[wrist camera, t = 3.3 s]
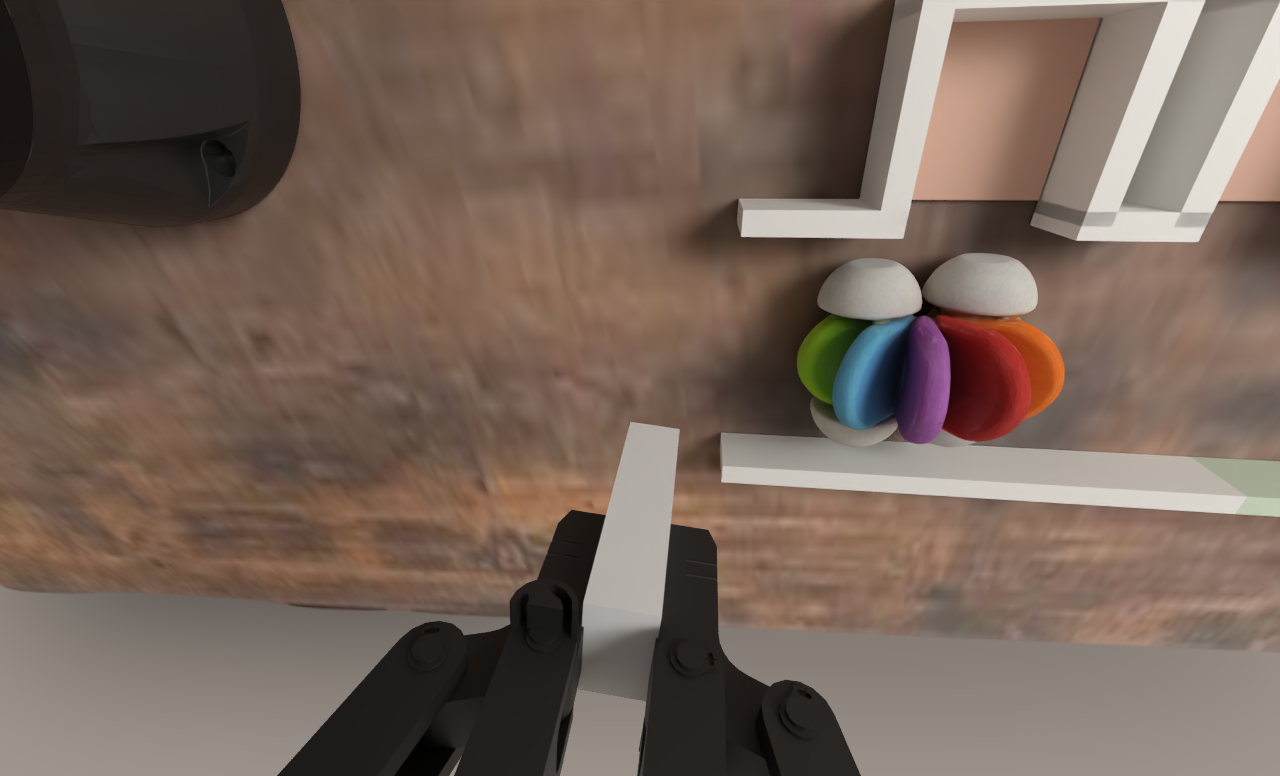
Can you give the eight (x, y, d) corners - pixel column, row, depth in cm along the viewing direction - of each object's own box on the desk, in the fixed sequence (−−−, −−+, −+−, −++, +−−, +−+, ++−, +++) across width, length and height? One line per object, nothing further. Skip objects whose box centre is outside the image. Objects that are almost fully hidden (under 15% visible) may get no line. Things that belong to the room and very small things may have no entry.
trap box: (719, 447, 28) (721, 482, 25) (754, -4, 19) (762, -24, 16) (1385, 484, 25) (1467, 528, 22) (1842, -46, 15) (2079, -79, 13)
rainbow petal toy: (983, 414, 25) (1075, 513, 19) (784, 414, 27) (809, 508, 20) (1032, 242, 22) (1169, 296, 15) (796, 252, 23) (831, 305, 16)
